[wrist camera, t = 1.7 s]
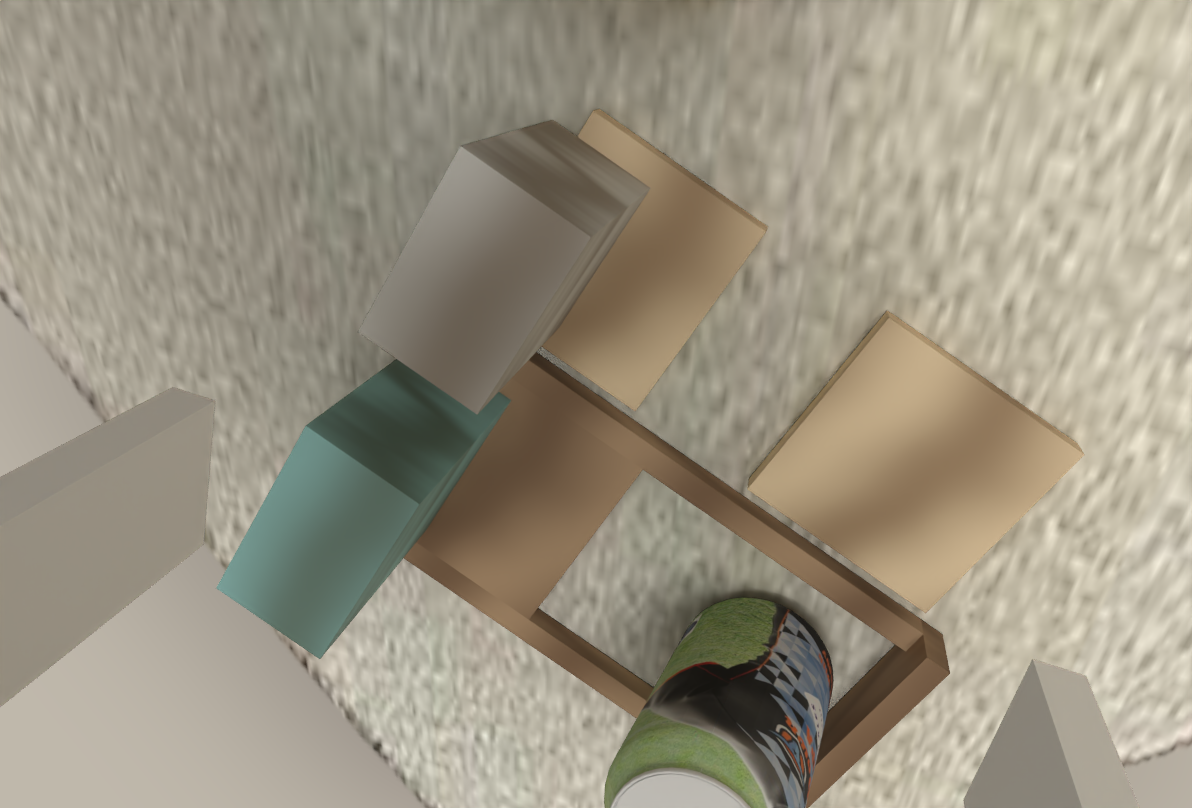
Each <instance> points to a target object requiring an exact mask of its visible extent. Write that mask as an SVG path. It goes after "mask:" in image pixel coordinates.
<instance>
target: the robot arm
mask: <svg viewBox="0 0 1192 808" xmlns="http://www.w3.org/2000/svg"><path fill="white" fill-rule="evenodd" d="M214 411H215V400H212V399H209V398H206V397H203V396H199V395H196V394H193V393H190V392H187V391H184V390H180V389H177V388H174V387H172V388H170V389H168V390H166V391H164V392H162V393H160V394H159V395H157V396H155V397H153V398H151V399H149V400H147V401H145V402H143V403H141V404H139V405H137V406H136V407H134V408H132V409H130V410H128V411H126V412H124V413H122V414H120V415H118V416H116V417H114V418H113V419H111V420H109V421H107V422H105V423H103V424H101V425H99V426H97V427H95V428H93V429H91V430H90V431H88V432H86V433H84V434H82V435H80V436H78V437H76V438H74V439H72V440H70V441H68V442H67V443H65V444H63V445H61V446H59V447H57V448H55V449H53V450H51V451H49V452H47V453H45V454H44V455H42V456H40V457H38V458H36V459H34V460H33V461H30V462H28V463H26V464H24V465H22V466H21V467H19V468H17V469H15V470H13V471H11V472H9V473H7V474H5V475H3V476H1V477H0V707H1V706H2V705H4V704H5V703H6V702H7V701H9V700H10V699H11V698H12V697H14V696H15V695H16V694H17V693H19V692H20V691H21V690H22V689H24V688H25V687H26V686H27V685H29V684H30V683H31V682H32V681H34V680H35V679H36V678H37V677H39V676H40V675H41V674H42V673H43V672H45V671H46V670H47V669H49V668H50V667H51V666H52V665H54V664H55V663H56V662H57V661H59V660H60V659H61V658H62V657H64V656H65V655H66V654H67V653H69V652H70V651H71V650H72V649H74V648H75V647H76V646H77V645H79V644H80V643H81V642H82V641H84V640H85V639H86V638H87V637H89V636H90V635H91V634H92V633H94V632H95V631H96V630H97V629H98V628H100V627H101V626H102V625H103V624H105V623H106V622H107V621H109V620H110V619H111V618H112V617H114V616H115V615H116V614H117V613H119V612H120V611H121V610H122V609H124V608H125V607H126V606H127V605H129V604H130V603H131V602H132V601H134V600H135V599H136V598H137V597H139V596H140V595H141V594H142V593H144V592H145V591H146V590H147V589H149V588H150V587H151V586H152V585H154V584H155V583H156V582H157V581H159V580H160V579H161V578H162V577H164V576H165V575H166V574H167V573H168V572H170V571H171V570H172V569H174V568H175V567H176V566H177V565H179V564H180V563H181V562H182V561H184V560H185V559H186V558H187V557H189V556H190V555H191V554H192V553H194V552H195V551H196V550H198V549H199V548H200V547H201V546H203V545H204V535H205V523H206V510H207V498H208V485H209V473H210V461H211V448H212V436H213V424H214ZM963 801H964V806H965V808H1140V807H1139V805H1138V802H1137V800H1136V797H1135V795H1134V792H1133V790H1132V787H1131V785H1130V782H1129V780H1128V777H1127V775H1126V773H1125V770H1124V768H1123V765H1122V763H1121V760H1120V758H1119V755H1118V753H1117V750H1116V748H1115V746H1114V743H1113V741H1112V738H1111V736H1110V733H1109V731H1108V728H1107V726H1106V723H1105V721H1104V719H1103V716H1102V714H1101V711H1100V709H1099V706H1098V704H1097V701H1096V699H1095V696H1094V694H1093V692H1092V689H1091V687H1090V684H1089V682H1088V679H1087V677H1086V676H1085V675H1082V674H1079V673H1076V672H1073V671H1069V670H1066V669H1063V668H1060V667H1057V666H1054V665H1050V664H1047V663H1044V662H1041V661H1038V660H1035V659H1032V661H1031V663H1030V665H1029V667H1028V669H1027V671H1026V674H1025V676H1024V678H1023V680H1022V682H1021V684H1020V686H1019V688H1018V690H1017V692H1016V694H1015V696H1014V698H1013V700H1012V702H1011V704H1010V706H1009V708H1008V710H1007V712H1006V714H1005V716H1004V718H1003V720H1002V722H1001V724H1000V726H999V729H998V731H997V733H996V735H995V737H994V739H993V741H992V743H991V745H990V747H989V749H988V751H987V753H986V755H985V757H984V759H983V761H982V763H981V765H980V767H979V769H978V771H977V773H976V775H975V777H974V779H973V781H972V784H971V786H970V788H969V790H968V792H967V794H966V796H965V798H964V800H963Z"/></svg>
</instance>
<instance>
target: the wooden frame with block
mask: <svg viewBox="0 0 1192 808" xmlns="http://www.w3.org/2000/svg"><path fill="white" fill-rule="evenodd" d="M642 470H644V471H646V472H647V473H649V474H650V475H652V476H653V477H655V478H656V479H657V480H659V481H660V482H662V483H663V484H665V485H666V486H667V487H669V488H670V489H672V490H673V491H675V492H676V493H678V494H679V495H680V496H682V497H683V498H685V499H686V500H688V501H689V502H691V503H692V504H693V505H695V506H696V507H698V508H699V509H701V510H702V511H704V512H705V513H706V514H708V515H709V516H711V517H712V518H714V519H715V520H717V521H718V522H719V523H721V524H722V525H724V526H725V527H727V528H728V529H730V530H731V531H732V532H734V533H735V534H737V535H738V536H740V537H741V538H742V539H744V540H745V541H747V542H748V543H750V544H751V545H753V546H754V547H755V548H757V549H758V550H760V551H761V552H763V553H764V554H766V555H767V556H768V557H770V558H771V559H773V560H774V561H776V562H777V563H779V564H780V565H781V566H783V567H784V568H786V569H787V570H789V571H790V572H792V573H793V574H794V575H796V576H797V577H799V578H800V579H802V580H803V581H805V582H806V583H807V584H809V585H810V586H812V587H813V588H815V589H816V590H818V591H819V592H820V593H822V594H823V595H825V596H826V597H828V598H829V599H830V600H832V601H833V602H835V603H836V604H838V605H839V606H841V607H842V608H843V609H845V610H846V611H848V612H849V613H851V614H852V615H854V616H855V617H856V618H858V619H859V620H861V621H862V622H864V623H865V624H867V625H868V626H869V627H871V628H872V629H874V630H875V631H877V632H878V633H880V634H881V635H882V636H884V637H885V638H887V639H888V640H890V641H891V642H893V643H894V644H895V646H894V647H893V648H892V649H891V650H890V651H889V652H888V653H887V654H886V655H885V656H884V657H883V658H882V659H881V660H880V661H879V662H878V663H877V664H876V665H875V666H874V667H873V668H872V669H871V670H870V671H869V672H868V673H867V674H866V675H865V676H864V677H863V678H862V679H861V680H860V681H859V682H858V683H857V684H856V685H855V686H854V687H853V688H852V689H851V690H850V691H849V692H848V693H847V694H846V695H845V696H844V697H843V698H842V699H841V700H840V701H839V702H838V703H837V704H836V705H835V706H834V707H833V708H832V709H831V710H830V711H829V712H828V713H827V716H826V721H825V725H824V730H823V734H822V738H821V743H820V747H819V751H818V756H817V760H816V764H815V769H814V773H813V777H812V782H811V786H810V791H809V795H808V799H807V804H806V808H808V807H810V806H811V805H812V804H813V803H814V802H815V801H816V800H817V799H818V798H819V797H820V796H821V795H822V794H823V793H824V792H825V791H826V790H827V789H829V788H830V787H831V786H832V785H833V784H834V783H835V782H836V781H837V780H838V779H839V778H840V777H841V776H842V775H843V774H844V773H845V772H846V771H848V770H849V769H850V768H851V767H852V766H853V765H854V764H855V763H856V762H857V761H858V760H859V759H860V758H861V757H862V756H863V755H864V754H865V753H867V752H868V751H869V750H870V749H871V748H872V747H873V746H874V745H875V744H876V743H877V742H878V741H879V740H880V739H881V738H882V737H883V736H884V735H886V734H887V733H888V732H889V731H890V730H891V729H892V728H893V727H894V726H895V725H896V724H897V723H898V722H899V721H900V720H901V719H902V718H903V717H905V716H906V715H907V714H908V713H909V712H910V711H911V710H912V709H913V708H914V707H915V706H916V705H917V704H918V703H919V702H920V701H921V700H922V699H924V698H925V697H926V696H927V695H928V694H929V693H930V692H931V691H932V690H933V689H934V688H935V687H936V686H937V685H938V684H939V683H940V682H941V681H943V680H944V679H945V678H946V677H947V676H948V675H949V674H950V671H949V666H948V660H947V655H946V650H945V645H944V640H943V634H941V633H940V632H938V631H937V630H935V629H934V628H932V627H931V626H930V625H928V624H927V623H925V622H924V621H922V620H921V619H919V618H918V617H917V616H915V615H914V614H912V613H911V612H909V611H908V610H906V609H905V608H904V607H902V606H901V605H899V604H898V603H896V602H895V601H894V600H892V599H891V598H889V597H888V596H886V595H885V594H883V593H882V592H881V591H879V590H878V589H876V588H875V587H873V586H872V585H870V584H869V583H868V582H866V581H865V580H863V579H862V578H860V577H859V576H858V575H856V574H855V573H853V572H852V571H850V570H849V569H847V568H846V567H845V566H843V565H842V564H840V563H839V562H837V561H836V560H834V559H833V558H832V557H830V556H829V555H827V554H826V553H824V552H823V551H821V550H820V549H819V548H817V547H816V546H814V545H813V544H811V543H810V542H809V541H807V540H806V539H804V538H803V537H801V536H800V535H798V534H797V533H796V532H794V531H793V530H791V529H790V528H788V527H787V526H785V525H784V524H783V523H781V522H780V521H778V520H777V519H775V518H774V517H773V516H771V515H770V514H768V513H767V512H765V511H764V510H762V509H761V508H760V507H758V506H757V505H755V504H754V503H752V502H751V501H749V500H748V499H747V498H745V497H744V496H742V495H741V494H739V493H738V492H737V491H735V490H734V489H732V488H731V487H729V486H728V485H726V484H725V483H724V482H722V481H721V480H719V479H718V478H716V477H715V476H713V475H712V474H711V473H709V472H708V471H706V470H705V469H703V468H702V467H700V466H699V465H698V464H696V463H695V462H693V461H692V460H690V459H689V458H688V457H686V456H685V455H683V454H682V453H680V452H679V451H677V450H676V449H675V448H673V447H672V446H670V445H669V444H667V443H666V442H664V441H663V440H662V439H660V438H659V437H657V436H656V435H654V434H653V433H652V432H650V431H649V430H647V429H646V428H644V427H643V426H641V425H640V424H639V423H637V422H636V421H634V420H633V419H631V418H630V417H628V416H627V415H626V414H624V413H623V412H621V411H620V410H618V409H617V408H615V407H614V406H613V405H611V404H610V403H608V402H607V401H605V400H604V399H603V398H601V397H600V396H598V395H597V394H595V393H594V392H592V391H591V390H590V389H588V388H587V387H585V386H584V385H582V384H581V383H579V382H578V381H577V380H575V379H574V378H572V377H571V376H569V375H568V374H567V373H565V372H564V371H562V370H561V369H559V368H558V367H556V366H555V365H554V364H552V363H551V362H549V361H548V360H546V359H545V358H543V357H542V356H541V355H539V354H538V353H535V354H534V355H533V356H532V357H531V358H530V359H529V360H528V361H527V362H526V363H525V364H524V365H523V366H522V368H521V369H520V370H519V371H518V372H517V373H516V374H515V375H514V376H513V377H512V378H511V379H510V380H509V381H508V382H507V383H506V385H505V386H504V387H503V388H502V389H501V390H500V391H499V392H498V393H497V394H496V395H495V396H494V397H493V398H492V399H491V400H490V402H489V403H488V404H487V405H486V406H485V407H484V408H483V409H482V410H481V411H480V412H479V413H478V414H475V413H474V412H473V411H471V410H470V409H468V408H467V407H465V406H464V405H462V404H461V403H460V402H458V401H457V400H455V399H454V398H452V397H451V396H449V395H448V394H447V393H445V392H444V391H442V390H441V389H439V388H438V387H436V386H435V385H434V384H432V383H431V382H429V381H428V380H426V379H425V378H423V377H422V376H421V375H419V374H418V373H416V372H415V371H413V370H412V369H410V368H409V367H408V366H406V365H405V364H403V363H402V362H400V361H399V360H397V359H396V360H395V361H393V362H392V363H391V364H389V365H388V366H387V367H385V368H384V369H382V370H381V371H380V372H378V373H377V374H376V375H374V376H373V377H372V378H370V379H369V380H367V381H366V382H365V383H363V384H362V385H361V386H359V387H358V388H357V389H355V390H354V391H353V392H351V393H350V394H348V395H347V396H346V397H344V398H343V399H342V400H340V401H339V402H338V403H336V404H335V405H334V406H332V407H331V408H329V409H328V410H327V411H325V412H324V413H323V414H321V415H320V416H319V417H317V418H316V419H314V420H313V421H312V422H310V423H309V424H308V425H306V426H305V428H304V430H303V432H302V434H301V436H300V437H299V439H298V441H297V443H296V445H295V446H294V448H293V450H292V452H291V454H290V455H289V457H288V459H287V461H286V463H285V465H284V466H283V468H282V470H281V472H280V474H279V475H278V477H277V479H276V481H275V483H274V484H273V486H272V488H271V490H270V492H269V494H268V495H267V497H266V499H265V501H264V503H263V504H262V506H261V508H260V510H259V512H258V513H257V515H256V517H255V519H254V521H253V523H252V524H251V526H250V528H249V530H248V532H247V533H246V535H245V537H244V539H243V541H242V543H241V544H240V546H239V548H238V550H237V552H236V553H235V555H234V557H233V559H232V561H231V562H230V564H229V566H228V568H227V570H226V572H225V573H224V575H223V577H222V579H221V581H220V582H219V584H218V586H217V589H218V590H220V591H221V592H223V593H224V594H226V595H227V596H229V597H230V598H231V599H233V600H234V601H236V602H237V603H239V604H240V605H242V606H243V607H245V608H246V609H247V610H249V611H250V612H252V613H253V614H255V615H256V616H258V617H259V618H261V619H262V620H263V621H265V622H266V623H268V624H269V625H271V626H272V627H274V628H275V629H277V630H278V631H280V632H281V633H282V634H284V635H285V636H287V637H288V638H290V639H291V640H293V641H294V642H296V643H297V644H298V645H300V646H301V647H303V648H304V649H306V650H307V651H309V652H310V653H312V654H313V655H315V656H316V657H317V658H319V659H321V657H322V656H323V655H324V654H325V652H326V651H327V650H328V649H329V648H330V646H331V645H332V644H333V643H334V642H335V640H336V639H337V638H338V637H339V635H340V634H341V633H342V632H343V631H344V629H345V628H346V627H347V626H348V625H349V623H350V622H351V621H352V620H353V618H354V617H355V616H356V615H357V614H358V612H359V611H360V610H361V609H362V608H363V606H364V605H365V604H366V603H367V601H368V600H369V599H370V598H371V597H372V595H373V594H374V593H375V592H376V590H377V589H378V588H379V587H380V586H381V584H382V583H383V582H384V581H385V580H386V578H387V577H388V576H389V575H390V573H391V572H392V571H393V570H394V569H395V567H396V566H397V565H398V564H399V563H400V561H401V560H402V559H403V558H404V559H406V560H407V561H409V562H410V563H412V564H413V565H415V566H416V567H417V568H419V569H420V570H422V571H423V572H425V573H426V574H428V575H429V576H430V577H432V578H433V579H435V580H436V581H438V582H439V583H441V584H442V585H444V586H445V587H446V588H448V589H449V590H451V591H452V592H454V593H455V594H457V595H458V596H460V597H461V598H462V599H464V600H465V601H467V602H468V603H470V604H471V605H473V606H474V607H476V608H477V609H478V610H480V611H481V612H483V613H484V614H486V615H487V616H489V617H490V618H492V619H493V620H494V621H496V622H497V623H499V624H500V625H502V626H503V627H505V628H506V629H507V630H509V631H510V632H512V633H513V634H515V635H516V636H518V637H519V638H521V639H522V640H523V641H525V642H526V643H528V644H529V645H531V646H532V647H534V648H535V649H537V650H538V651H539V652H541V653H542V654H544V655H545V656H547V657H548V658H550V659H551V660H553V661H554V662H555V663H557V664H558V665H560V666H561V667H563V668H564V669H566V670H567V671H569V672H570V673H571V674H573V675H574V676H576V677H577V678H579V679H580V680H582V681H583V682H584V683H586V684H587V685H589V686H590V687H592V688H593V689H595V690H596V691H598V692H599V693H600V694H602V695H603V696H605V697H606V698H608V699H609V700H611V701H612V702H614V703H615V704H616V705H618V706H619V707H621V708H622V709H624V710H625V711H627V712H628V713H630V714H631V715H632V716H634V717H635V718H638V716H639V714H640V712H641V710H642V709H643V707H644V705H645V703H646V702H647V700H648V698H649V696H650V694H651V693H652V691H653V689H654V688H653V687H651V686H650V685H648V684H647V683H645V682H644V681H642V680H641V679H640V678H638V677H637V676H635V675H634V674H632V673H631V672H629V671H628V670H626V669H625V668H624V667H622V666H621V665H619V664H618V663H616V662H615V661H613V660H612V659H611V658H609V657H608V656H606V655H605V654H603V653H602V652H600V651H599V650H597V649H596V648H595V647H593V646H592V645H590V644H589V643H587V642H586V641H584V640H583V639H581V638H580V637H579V636H577V635H576V634H574V633H573V632H571V631H570V630H568V629H567V628H566V627H564V626H563V625H561V624H560V623H558V622H557V621H555V620H554V619H552V618H551V617H550V616H548V615H547V614H545V613H544V612H542V611H541V610H539V609H538V607H539V606H540V604H541V603H542V602H543V600H544V599H545V598H546V596H547V595H548V594H549V593H550V591H551V590H552V589H553V587H554V586H555V585H556V583H557V582H558V581H559V579H560V578H561V577H562V575H563V574H564V573H565V571H566V570H567V569H568V567H569V566H570V565H571V563H572V562H573V561H574V560H575V558H576V557H577V556H578V554H579V553H580V552H581V550H582V549H583V548H584V546H585V545H586V544H587V542H588V541H589V540H590V538H591V537H592V536H593V534H594V533H595V532H596V530H597V529H598V528H599V527H600V525H601V524H602V523H603V521H604V520H605V519H606V517H607V516H608V515H609V513H610V512H611V511H612V509H613V508H614V507H615V505H616V504H617V503H618V501H619V500H620V499H621V497H622V496H623V495H624V494H625V492H626V491H627V490H628V488H629V487H630V486H631V484H632V483H633V482H634V480H635V479H636V478H637V476H638V475H639V474H640V472H641V471H642Z"/></svg>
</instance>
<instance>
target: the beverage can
mask: <svg viewBox="0 0 1192 808" xmlns="http://www.w3.org/2000/svg"><path fill="white" fill-rule="evenodd" d="M832 688H833V668H832V664H831V660H830V657H829V654H828V651H827V649H826V647H825V645H824V643H823V641H822V640H821V639H820V637H819V636H818V634H817V633H816V631H815V630H814V629H813V628H812V627H811V626H810V625H809V624H808V623H807V622H806V621H805V620H804V619H802V618H801V617H800V616H798V615H797V614H796V613H794V612H793V611H791V610H789V609H787V608H785V607H783V606H782V605H779V604H776V603H773V602H770V601H767V600H762V599H757V598H735V599H728V600H725V601H722V602H719V603H716V604H714V605H712V606H711V607H709V608H707V609H705V610H704V611H703V612H702V613H700V614H699V615H698V616H697V617H696V618H695V619H694V620H693V622H692V623H691V624H690V625H689V627H688V629H687V630H686V632H685V634H684V636H683V637H682V639H681V641H680V643H679V645H678V646H677V648H676V650H675V652H674V653H673V655H672V657H671V659H670V661H669V662H668V664H667V666H666V668H665V669H664V671H663V673H662V675H661V677H660V678H659V680H658V682H657V684H656V685H655V687H654V689H653V691H652V693H651V694H650V696H649V698H648V700H647V702H646V703H645V705H644V707H643V709H642V710H641V712H640V714H639V716H638V718H637V719H636V721H635V723H634V725H633V726H632V728H631V730H630V732H629V734H628V735H627V737H626V739H625V741H624V742H623V744H622V746H621V748H620V750H619V751H618V753H617V755H616V757H615V759H614V761H613V763H612V765H611V767H610V769H609V772H608V776H607V780H606V784H605V796H604V804H605V808H806V804H807V799H808V795H809V791H810V786H811V782H812V777H813V773H814V769H815V764H816V760H817V756H818V751H819V747H820V743H821V738H822V734H823V730H824V725H825V721H826V716H827V712H828V708H829V703H830V699H831V695H832Z"/></svg>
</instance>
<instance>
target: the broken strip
mask: <svg viewBox="0 0 1192 808" xmlns="http://www.w3.org/2000/svg"><path fill="white" fill-rule="evenodd" d="M767 228H768V227H767V226H766V225H765V224H763V223H762V222H760V221H759V220H757V219H756V218H755V217H753V216H752V215H750V214H749V213H747V212H746V211H745V210H743V209H742V208H740V207H739V206H737V205H736V204H735V203H733V202H732V201H730V200H729V199H727V198H726V197H725V196H723V195H722V194H720V193H719V192H717V191H716V190H715V189H713V188H712V187H710V186H709V185H707V184H706V183H705V182H703V181H702V180H700V179H699V178H697V177H696V176H695V175H693V174H692V173H690V172H689V171H687V170H686V169H685V168H683V167H682V166H680V165H679V164H677V163H676V162H675V161H673V160H672V159H670V158H669V157H667V156H666V155H665V154H663V153H662V152H660V151H659V150H657V149H656V148H655V147H653V146H652V145H650V144H649V143H647V142H646V141H645V140H643V139H642V138H640V137H639V136H637V135H636V134H635V133H633V132H632V131H630V130H629V129H627V128H626V127H625V126H623V125H622V124H620V123H619V122H617V121H616V120H615V119H613V118H612V117H610V116H609V115H607V114H606V113H605V112H603V111H602V110H600V109H598V110H594V111H593V112H592V113H591V115H590V117H589V118H588V120H587V122H586V123H585V125H584V127H583V128H582V130H581V131H580V133H579V135H578V136H575V135H574V134H573V133H571V132H570V131H568V130H567V129H565V128H564V127H563V126H561V125H560V124H558V123H557V122H555V121H554V120H550V121H546V122H543V123H539V124H536V125H532V126H529V127H525V128H522V129H518V130H515V131H511V132H508V133H504V134H500V135H497V136H493V137H490V138H486V139H483V140H479V141H476V142H472V143H469V144H465V145H462V146H460V147H459V149H458V151H457V153H456V154H455V156H454V158H453V160H452V162H451V164H450V165H449V167H448V169H447V171H446V173H445V174H444V176H443V178H442V180H441V182H440V183H439V185H438V187H437V189H436V191H435V193H434V194H433V196H432V198H431V200H430V202H429V203H428V205H427V207H426V209H425V211H424V212H423V214H422V216H421V218H420V220H419V222H418V223H417V225H416V227H415V229H414V231H413V232H412V234H411V236H410V238H409V240H408V242H407V243H406V245H405V247H404V249H403V251H402V252H401V254H400V256H399V258H398V260H397V261H396V263H395V265H394V267H393V269H392V271H391V272H390V274H389V276H388V278H387V280H386V281H385V283H384V285H383V287H382V289H381V290H380V292H379V294H378V296H377V298H376V300H375V301H374V303H373V305H372V307H371V309H370V310H369V312H368V314H367V316H366V318H365V319H364V321H363V323H362V325H361V327H360V329H359V330H358V333H360V334H361V335H363V336H364V337H366V338H367V339H369V340H370V341H371V342H373V343H374V344H376V345H377V346H379V347H380V348H382V349H383V350H384V351H386V352H387V353H389V354H390V355H392V356H393V357H395V358H396V359H397V360H399V361H400V362H402V363H403V364H405V365H406V366H408V367H409V368H410V369H412V370H413V371H415V372H416V373H418V374H419V375H421V376H422V377H423V378H425V379H426V380H428V381H429V382H431V383H432V384H434V385H435V386H436V387H438V388H439V389H441V390H442V391H444V392H445V393H447V394H448V395H449V396H451V397H452V398H454V399H455V400H457V401H458V402H460V403H461V404H462V405H464V406H465V407H467V408H468V409H470V410H471V411H473V412H474V413H475V414H478V413H479V412H480V411H481V410H482V409H483V408H484V407H485V406H486V405H487V404H488V403H489V402H490V400H491V399H492V398H493V397H494V396H495V395H496V394H497V393H498V392H499V391H500V390H501V389H502V388H503V387H504V386H505V385H506V383H507V382H508V381H509V380H510V379H511V378H512V377H513V376H514V375H515V374H516V373H517V372H518V371H519V370H520V369H521V368H522V366H523V365H524V364H525V363H526V362H527V361H528V360H529V359H530V358H531V357H532V356H533V355H534V354H535V353H536V352H537V351H538V349H539V348H540V347H541V346H542V347H543V348H545V349H546V350H548V351H549V352H550V353H552V354H553V355H555V356H556V357H558V358H559V359H560V360H562V361H563V362H565V363H566V364H568V365H569V366H571V367H572V368H573V369H575V370H576V371H578V372H579V373H581V374H582V375H584V376H585V377H586V378H588V379H589V380H591V381H592V382H594V383H595V384H596V385H598V386H599V387H601V388H602V389H604V390H605V391H607V392H608V393H609V394H611V395H612V396H614V397H615V398H617V399H618V400H620V401H621V402H622V403H624V404H625V405H627V406H628V407H630V408H631V409H632V410H634V411H636V410H637V408H638V407H639V406H640V404H641V403H642V401H643V400H644V399H645V397H646V396H647V395H648V393H649V392H650V390H651V389H652V388H653V386H654V385H655V384H656V382H657V381H658V380H659V378H660V377H661V375H662V374H663V373H664V371H665V370H666V369H667V367H668V366H669V364H670V363H671V362H672V360H673V359H674V358H675V356H676V355H677V353H678V352H679V351H680V349H681V348H682V347H683V345H684V344H685V342H686V341H687V340H688V338H689V337H690V336H691V334H692V333H693V332H694V330H695V329H696V327H697V326H698V325H699V323H700V322H701V321H702V319H703V318H704V316H705V315H706V314H707V312H708V311H709V310H710V308H711V307H712V305H713V304H714V303H715V301H716V300H717V299H718V297H719V296H720V294H721V293H722V292H723V290H724V289H725V288H726V286H727V285H728V283H729V282H730V281H731V279H732V278H733V277H734V275H735V274H736V273H737V271H738V270H739V268H740V267H741V266H742V264H743V263H744V262H745V260H746V259H747V257H748V256H749V255H750V253H751V252H752V251H753V249H754V248H755V246H756V245H757V244H758V242H759V241H760V240H761V238H762V237H763V235H764V234H765V233H766V231H767ZM1083 456H1084V453H1083V452H1082V450H1081V448H1080V447H1079V445H1078V444H1077V443H1076V442H1075V441H1073V440H1072V439H1070V438H1069V437H1067V436H1066V435H1065V434H1063V433H1062V432H1060V431H1059V430H1057V429H1056V428H1055V427H1053V426H1052V425H1050V424H1049V423H1047V422H1046V421H1045V420H1043V419H1042V418H1040V417H1039V416H1037V415H1036V414H1035V413H1033V412H1032V411H1030V410H1029V409H1027V408H1026V407H1025V406H1023V405H1022V404H1020V403H1019V402H1017V401H1016V400H1015V399H1013V398H1012V397H1010V396H1009V395H1007V394H1006V393H1005V392H1003V391H1002V390H1000V389H999V388H997V387H996V386H995V385H993V384H992V383H990V382H989V381H987V380H986V379H985V378H983V377H982V376H980V375H979V374H977V373H976V372H975V371H973V370H972V369H970V368H969V367H967V366H966V365H965V364H963V363H962V362H960V361H959V360H957V359H956V358H955V357H953V356H952V355H950V354H949V353H947V352H946V351H945V350H943V349H942V348H940V347H939V346H937V345H936V344H935V343H933V342H932V341H930V340H929V339H927V338H926V337H925V336H923V335H922V334H920V333H919V332H917V331H916V330H915V329H913V328H912V327H910V326H909V325H907V324H906V323H905V322H903V321H902V320H900V319H899V318H897V317H896V316H895V315H893V314H892V313H890V312H889V311H886V313H885V314H884V315H883V316H882V317H881V319H880V320H879V321H878V322H877V324H876V325H875V326H874V327H873V328H872V330H871V331H870V332H869V333H868V335H867V336H866V337H865V338H864V339H863V341H862V342H861V343H860V344H859V345H858V347H857V348H856V349H855V350H854V352H853V353H852V354H851V355H850V356H849V358H848V359H847V360H846V361H845V362H844V364H843V365H842V366H841V367H840V369H839V370H838V371H837V372H836V373H835V375H834V376H833V377H832V378H831V380H830V381H829V382H828V383H827V384H826V386H825V387H824V388H823V389H822V390H821V392H820V393H819V394H818V395H817V397H816V398H815V399H814V400H813V401H812V403H811V404H810V405H809V406H808V407H807V409H806V410H805V411H804V412H803V414H802V415H801V416H800V417H799V418H798V420H797V421H796V422H795V423H794V425H793V426H792V427H791V428H790V429H789V431H788V432H787V433H786V434H785V435H784V437H783V438H782V439H781V440H780V442H779V443H778V444H777V445H776V446H775V448H774V449H773V450H772V451H771V452H770V454H769V455H768V456H767V457H766V459H765V460H764V461H763V462H762V463H761V465H760V466H759V467H758V468H757V470H756V471H755V472H754V473H753V474H752V476H751V477H750V478H749V483H748V490H749V491H751V492H752V493H753V494H755V495H756V496H758V497H759V498H761V499H762V500H764V501H765V502H766V503H768V504H769V505H771V506H772V507H774V508H775V509H777V510H778V511H779V512H781V513H782V514H784V515H785V516H787V517H788V518H789V519H791V520H792V521H794V522H795V523H797V524H798V525H800V526H801V527H802V528H804V529H805V530H807V531H808V532H810V533H811V534H813V535H814V536H815V537H817V538H818V539H820V540H821V541H823V542H824V543H825V544H827V545H828V546H830V547H831V548H833V549H834V550H836V551H837V552H838V553H840V554H841V555H843V556H844V557H846V558H847V559H849V560H850V561H851V562H853V563H854V564H856V565H857V566H859V567H860V568H861V569H863V570H864V571H866V572H867V573H869V574H870V575H872V576H873V577H874V578H876V579H877V580H879V581H880V582H882V583H883V584H885V585H886V586H887V587H889V588H890V589H892V590H893V591H895V592H896V593H897V594H899V595H900V596H902V597H903V598H905V599H906V600H908V601H909V602H910V603H912V604H913V605H915V606H916V607H918V608H919V609H921V610H922V611H923V612H925V613H926V612H927V611H928V610H929V609H930V608H931V607H932V606H933V605H934V604H935V603H936V602H937V601H938V600H939V599H940V598H941V597H942V596H943V595H944V594H945V593H946V592H947V591H948V590H949V589H950V588H951V587H952V586H953V585H954V584H955V583H956V582H957V581H958V580H959V579H960V578H961V577H962V576H963V575H964V574H965V573H966V572H967V571H968V570H969V569H970V568H971V567H972V566H973V565H974V564H975V563H976V562H977V561H978V560H979V559H980V558H981V557H982V556H983V555H984V554H985V553H986V552H987V551H988V550H989V549H990V548H991V547H992V546H993V545H994V544H995V543H996V542H997V541H998V540H999V539H1000V538H1001V537H1002V536H1003V535H1004V534H1005V533H1006V532H1007V531H1008V530H1009V529H1010V528H1012V527H1013V526H1014V525H1015V524H1016V523H1017V522H1018V521H1019V520H1020V519H1021V518H1022V517H1023V516H1024V515H1025V514H1026V513H1027V512H1028V511H1029V510H1030V509H1031V508H1032V507H1033V506H1034V505H1035V504H1036V503H1037V502H1038V501H1039V500H1040V499H1041V498H1042V497H1043V496H1044V495H1045V494H1046V493H1047V492H1048V491H1049V490H1050V489H1051V488H1052V487H1053V486H1054V485H1055V484H1056V483H1057V482H1058V481H1059V480H1060V479H1061V478H1062V477H1063V476H1064V475H1065V474H1066V473H1067V472H1068V471H1069V470H1070V469H1071V468H1072V467H1073V466H1074V465H1075V464H1076V463H1077V462H1078V461H1079V460H1080V459H1081V458H1082V457H1083Z"/></svg>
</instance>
